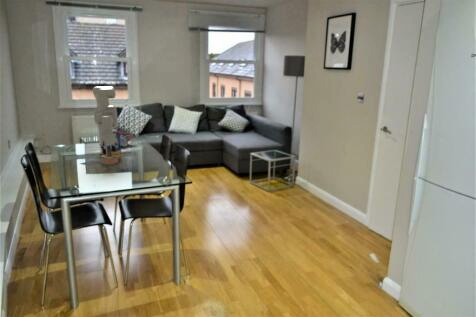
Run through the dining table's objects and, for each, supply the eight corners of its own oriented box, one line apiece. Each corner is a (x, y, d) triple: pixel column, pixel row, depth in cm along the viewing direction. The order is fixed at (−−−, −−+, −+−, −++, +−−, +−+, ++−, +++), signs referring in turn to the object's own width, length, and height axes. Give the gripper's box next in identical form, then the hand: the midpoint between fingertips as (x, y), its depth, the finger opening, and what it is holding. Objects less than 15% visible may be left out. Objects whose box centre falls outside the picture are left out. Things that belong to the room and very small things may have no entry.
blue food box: (106, 158, 317) (104, 132, 312) (119, 156, 323) (117, 131, 318) (108, 159, 312) (106, 133, 307) (121, 158, 317) (119, 132, 312)
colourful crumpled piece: (104, 144, 355) (112, 128, 352) (108, 139, 376) (116, 124, 373) (123, 154, 360) (132, 138, 358) (126, 148, 381) (134, 133, 378)
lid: (109, 154, 309) (109, 147, 307) (122, 156, 302) (121, 148, 301) (96, 157, 297) (95, 150, 295) (109, 159, 290) (108, 152, 289)
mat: (92, 160, 308) (92, 160, 308) (103, 162, 302) (103, 162, 302) (79, 164, 297) (79, 163, 297) (90, 166, 291) (90, 165, 291)
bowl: (110, 160, 309) (109, 154, 307) (120, 162, 303) (120, 156, 302) (98, 163, 298) (98, 157, 297) (109, 165, 293) (109, 159, 292)
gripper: (112, 129, 304) (113, 150, 308) (95, 132, 289) (97, 154, 293) (118, 130, 301) (120, 151, 304) (102, 133, 286) (104, 155, 290)
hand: (109, 152), depth 299 cm, fingers open, 9 cm apart
